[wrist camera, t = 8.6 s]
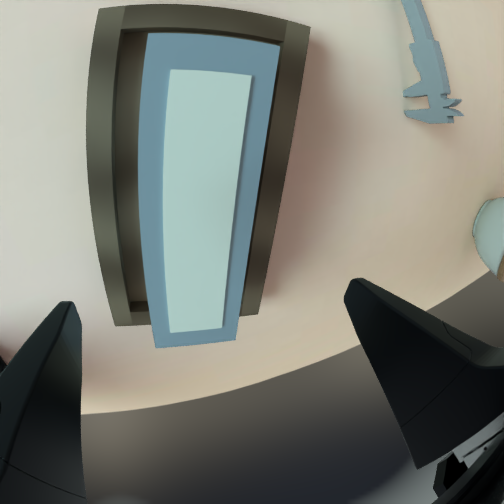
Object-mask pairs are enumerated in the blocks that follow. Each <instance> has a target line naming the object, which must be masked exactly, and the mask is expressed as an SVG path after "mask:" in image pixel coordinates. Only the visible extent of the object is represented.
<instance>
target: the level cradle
mask: <svg viewBox="0 0 504 504" xmlns="http://www.w3.org/2000/svg"><path fill="white" fill-rule="evenodd" d="M310 28H311V27H309V26H306V25H302V24H299V23H295V22H292V21H288V20H284V19H280V18H276V17H272V16H267V15H263V14H258V13H253V12H247V11H241V10H235V9H228V8H220V7H211V6H199V5H182V4H146V5H128V6H117V7H108V8H101V9H99V11H98V15H97V20H96V25H95V31H94V37H93V43H92V50H91V58H90V66H89V76H88V89H87V109H86V150H87V171H88V184H89V195H90V204H91V213H92V220H93V227H94V234H95V240H96V246H97V252H98V257H99V262H100V267H101V272H102V277H103V281H104V285H105V290H106V294H107V298H108V302H109V306H110V309H111V313H112V317H113V320H114V324H115V326H134V325H151V319H150V312H149V306H148V299H147V292H146V284H145V276H144V267H143V257H142V246H141V233H140V218H139V195H138V135H139V113H140V99H141V87H142V77H143V68H144V59H145V52H146V45H147V39H148V33H183V34H201V35H213V36H222V37H231V38H238V39H245V40H251V41H257V42H262V43H267V44H272V45H277V46H280V51H279V57H278V64H277V70H276V76H275V83H274V89H273V96H272V102H271V108H270V115H269V121H268V128H267V134H266V141H265V147H264V154H263V160H262V167H261V173H260V180H259V186H258V193H257V200H256V206H255V213H254V219H253V226H252V233H251V239H250V246H249V252H248V259H247V266H246V272H245V279H244V286H243V293H242V299H241V306H240V313H239V317H240V316H248V315H256V314H258V312H259V307H260V302H261V297H262V293H263V288H264V283H265V278H266V273H267V268H268V263H269V258H270V253H271V248H272V243H273V238H274V233H275V228H276V223H277V218H278V213H279V207H280V202H281V197H282V192H283V186H284V181H285V175H286V170H287V165H288V159H289V154H290V148H291V142H292V137H293V131H294V126H295V120H296V114H297V108H298V102H299V96H300V90H301V84H302V78H303V72H304V66H305V60H306V54H307V47H308V41H309V34H310Z"/></svg>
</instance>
